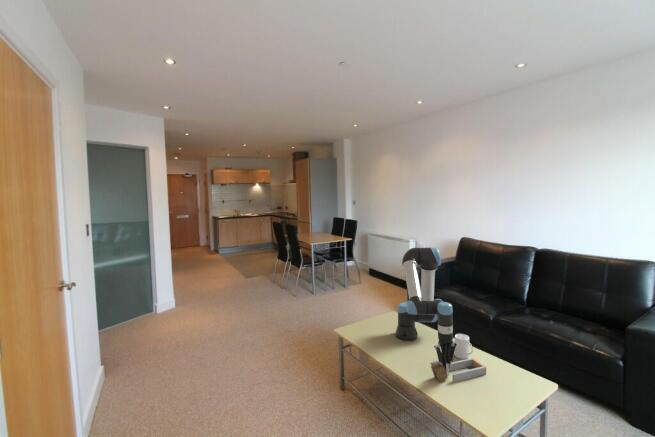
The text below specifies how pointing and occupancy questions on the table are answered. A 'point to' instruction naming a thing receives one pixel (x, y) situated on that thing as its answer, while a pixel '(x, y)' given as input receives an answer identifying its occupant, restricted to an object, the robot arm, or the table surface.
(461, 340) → the mug
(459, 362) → the channel
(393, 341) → the table surface
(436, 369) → the block
